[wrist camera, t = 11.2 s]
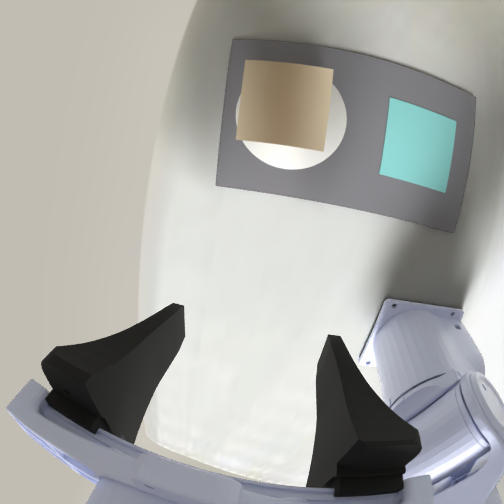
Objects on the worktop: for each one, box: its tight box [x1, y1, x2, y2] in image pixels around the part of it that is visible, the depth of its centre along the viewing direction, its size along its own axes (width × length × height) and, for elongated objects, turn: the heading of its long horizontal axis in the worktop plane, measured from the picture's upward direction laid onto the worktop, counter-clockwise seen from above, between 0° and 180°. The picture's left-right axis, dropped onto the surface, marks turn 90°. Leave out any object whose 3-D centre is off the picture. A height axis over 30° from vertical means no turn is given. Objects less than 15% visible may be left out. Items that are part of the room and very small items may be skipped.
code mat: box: [216, 39, 476, 233], centre depth 17 cm, size 20×12×1 cm, turn 84°
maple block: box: [236, 60, 334, 152], centre depth 15 cm, size 4×4×6 cm
